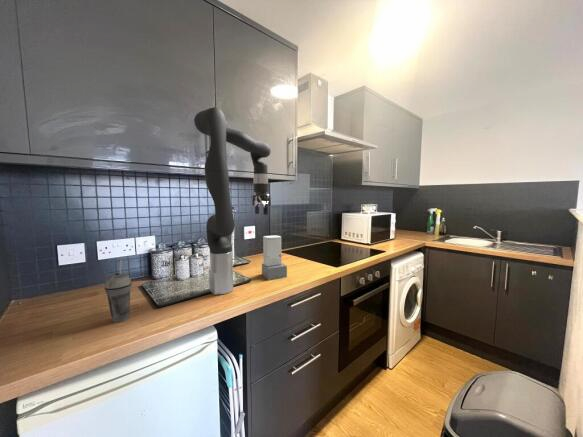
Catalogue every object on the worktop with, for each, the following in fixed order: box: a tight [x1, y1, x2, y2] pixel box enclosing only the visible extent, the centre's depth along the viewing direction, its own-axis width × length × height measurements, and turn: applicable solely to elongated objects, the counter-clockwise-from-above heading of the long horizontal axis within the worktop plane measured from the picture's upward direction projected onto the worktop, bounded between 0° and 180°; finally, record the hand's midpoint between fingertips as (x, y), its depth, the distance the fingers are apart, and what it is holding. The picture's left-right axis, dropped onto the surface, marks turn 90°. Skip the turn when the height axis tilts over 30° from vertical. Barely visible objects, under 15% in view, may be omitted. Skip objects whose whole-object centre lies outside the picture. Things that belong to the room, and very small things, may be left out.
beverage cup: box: [104, 259, 133, 323], centre depth 77 cm, size 7×7×20 cm
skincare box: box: [262, 235, 282, 267], centre depth 120 cm, size 8×6×15 cm
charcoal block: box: [261, 262, 288, 281], centre depth 121 cm, size 10×10×6 cm
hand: (261, 214), depth 123 cm, fingers open, 8 cm apart
